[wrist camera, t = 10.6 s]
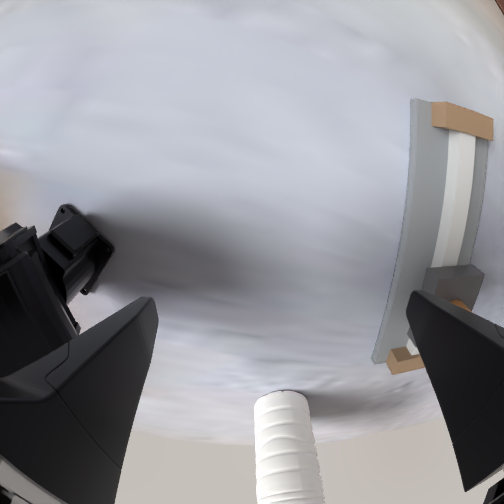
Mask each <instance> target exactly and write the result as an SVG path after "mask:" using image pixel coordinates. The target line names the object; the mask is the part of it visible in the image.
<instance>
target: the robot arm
mask: <svg viewBox="0 0 504 504" xmlns="http://www.w3.org/2000/svg"><path fill="white" fill-rule="evenodd" d="M63 208H64V209H65V212H64V211H63ZM36 233H37V231H36V229H35V226H31V227H29V228H27V226H26V227H24V228H23V227H21V226H20V225H19V224H17V223H14V224H12V225H10V226H9V227H7V228H5V229H3V230H2V231H0V504H114V503H115V498H116V493H117V488H118V484H119V479H120V474H121V469H122V465H123V461H124V457H125V452H126V448H127V444H128V440H129V437H130V433H131V429H132V425H133V421H134V418H135V414H136V410H137V407H138V403H139V400H140V396H141V393H142V389H143V386H144V383H145V379H146V376H147V373H148V370H149V366H150V363H151V359H152V354H153V348H154V343H155V338H156V333H157V328H158V314H157V310H156V305H155V301H154V299H153V298H152V297H140V298H139V299H137V300H136V301H134V302H132V303H131V304H129V305H127V306H126V307H124V308H122V309H121V310H119V311H117V312H116V313H114V314H113V315H111V316H109V317H108V318H106V319H104V320H103V321H101V322H100V323H98V324H96V325H95V326H93V327H91V328H90V329H88V330H87V331H85V332H83V333H82V334H80V335H79V333H80V329H81V327H80V326H79V324H78V322H76V321H75V319H74V317H73V315H72V314H71V312H70V310H69V308H68V306H67V305H68V304H69V303H70V302H71V301H72V299H73V298H74V297H75V296H76V295H77V294H78V292H81V293H82V294H83V295H87V294H88V293H89V292H90V291H91V289H92V287H93V285H94V284H95V282H96V280H97V279H98V277H99V275H100V274H101V272H102V271H103V269H104V267H105V266H106V264H107V263H108V261H109V259H110V258H111V256H112V255H113V253H114V247H113V245H112V244H110V243H109V242H108V241H107V240H106V239H105V238H103V237H102V236H101V235H100V234H99V233H98V232H97V231H96V230H95V229H94V228H93V227H92V226H91V225H90V224H88V223H87V222H86V221H85V220H84V219H83V218H82V217H81V216H80V215H78V214H76V213H75V212H74V211H73V210H72V209H71V208H70V207H69V206H68V205H66V204H63V205H61V206H60V207H59V209H58V211H57V213H56V215H55V218H54V220H53V222H52V224H51V227H50V229H49V231H48V232H47V233H45V234H44V235H42V236H41V237H39V238H37V235H36ZM107 248H108V249H109V250H110V252H109V251H108V250H107ZM84 289H85V290H86V291H85V290H84ZM406 317H407V320H408V323H409V326H410V328H411V331H412V334H413V337H414V340H415V343H416V346H417V349H418V352H419V354H420V356H421V359H422V361H423V363H424V366H425V368H426V371H427V373H428V375H429V378H430V381H431V383H432V386H433V388H434V391H435V393H436V396H437V399H438V402H439V404H440V407H441V410H442V413H443V416H444V419H445V421H446V425H447V428H448V431H449V434H450V437H451V440H452V443H453V448H454V451H455V455H456V459H457V462H458V466H459V470H460V474H461V478H462V483H463V487H464V491H465V492H467V491H469V490H470V489H472V488H474V487H475V486H477V485H479V484H481V483H482V482H484V481H485V480H487V479H488V478H490V477H492V476H493V475H494V474H496V473H497V472H499V471H500V470H502V469H503V471H504V328H503V327H501V326H499V325H497V324H494V323H492V322H490V321H488V320H486V319H484V318H482V317H480V316H478V315H476V314H474V313H472V312H470V311H467V310H465V309H463V308H461V307H459V306H457V305H455V304H452V303H450V302H448V301H446V300H444V299H442V298H439V297H437V296H435V295H433V294H431V293H428V292H426V291H424V290H413V291H412V292H411V294H410V298H409V301H408V304H407V308H406ZM483 504H504V478H503V479H502V480H500V481H499V482H497V483H496V484H495V485H493V486H492V487H490V488H489V489H488V492H487V495H486V498H485V500H484V503H483Z"/></svg>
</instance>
